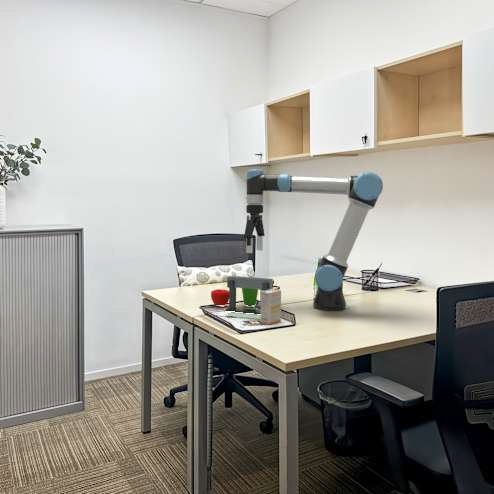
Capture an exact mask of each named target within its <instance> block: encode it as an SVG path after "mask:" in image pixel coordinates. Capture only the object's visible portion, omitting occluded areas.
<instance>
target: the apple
mask: <svg viewBox="0 0 494 494" xmlns="http://www.w3.org/2000/svg"><path fill="white" fill-rule="evenodd" d="M210 297H211V300H212V302H213V305H214V306H215V305H225V304H227V305H228V304H229V289H223V288H222V289H221V288H220V289H219V288H217V289H214V290H211V291H210Z"/></svg>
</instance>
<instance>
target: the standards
mask: <svg viewBox="0 0 494 494" xmlns="http://www.w3.org/2000/svg"><path fill="white" fill-rule="evenodd" d="M227 288H228V291H229V301H228V307H227V308H225V309H224V311H225V310H226V311H235V312H243V313H254V314H261V309H256V308H247V307H245V308H244V307H237V288H234V287H233V281H228V287H227ZM266 290H268V283H262V289H261V291H266Z"/></svg>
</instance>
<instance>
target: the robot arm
mask: <svg viewBox="0 0 494 494" xmlns="http://www.w3.org/2000/svg"><path fill="white" fill-rule="evenodd" d="M383 188H384V183H383V180H382V178H381V177H380V176H379V175H378V173H375V172H372V171H364V172H362V173H360V174H359V175H349V176H348V177H333V176H332V177H330V176H329V177H328V176H303V175H301V176H300V175H290V174H288V173H270V174H269V173H268V174H267V173H264V170H263V169H248V170H247V172H246V197H245V200H246V204H247V205H246V208H245V209H246V214H249V215H246V222H245V223H246V224H245V229H244V234H243V238H244V239H246V241H245V247H246V248H245V249H246V250H245V252H246V254H253V252H254V251H253V249H254V248H253V247H254V245H253V243H254V240H253V238H252V237H253V236H254V231H255V232H256V235H257V236H256V242H255V244H256V247H255V248H256V250H255V251H263V237H265V236H266V235H265V228H264V223H263V215H262V214H263V213H264V205H263V204H264V192H279V193H302V194H304V193H305V194H323V195H324V194H325V195H344V196H347V199H348V201H349V203H348V206H347V209H346V211H345V214H344V215H343V218H342V221H341V223H340V226H339V227H338V229H337V232H336V234H335V237H334V238H333V239H334V240H333V242H332V244H331V246H330V249H329V250H328V253H327V254H323V256H322V258H319V259H318V261H317V270H315V273H314V280H315V283H316V286H317V291H316V293H315V296H314V299H313V302H312V303H313V304H312V307H313V308H314V309H317V310H323V311H342V310H343V311H344V310H345V309H346V308H347V302H346V299H345V295H344V291H343V290H344V289H343V288H344V277H345V274H346V273H347V270H348V268H349V265H348V262H347V261H348V259H349V257H350V255H351V252H352V250H353V248H354V246H355V243H356V241H357V239H358V236H359V234H360V232H361V229H362V227H363V224H364V222H365V220H366V217H367V215H368V213H369V211H370V210H373V209H374V208H375V206H376V203H377V202H378V199H379V197H380V195H381V194H382V192H383Z"/></svg>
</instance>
